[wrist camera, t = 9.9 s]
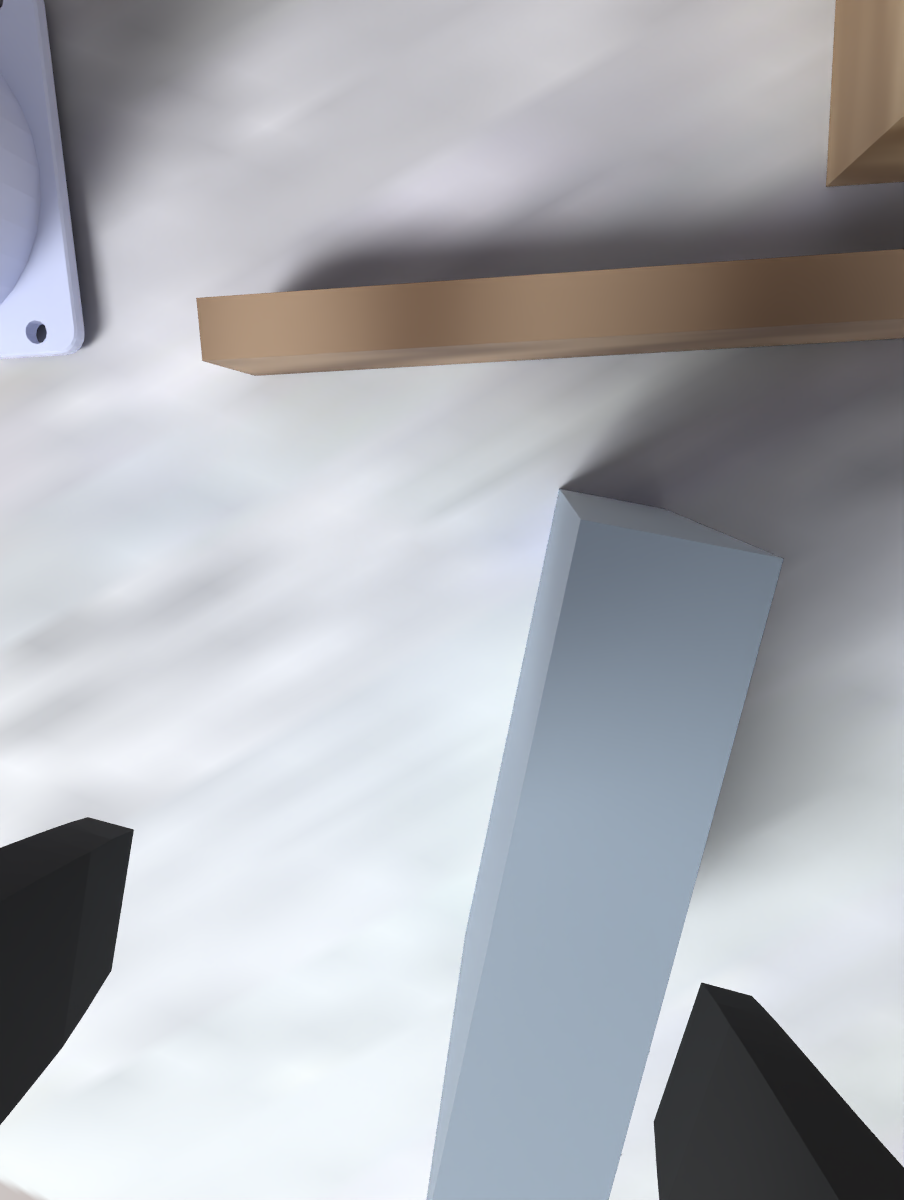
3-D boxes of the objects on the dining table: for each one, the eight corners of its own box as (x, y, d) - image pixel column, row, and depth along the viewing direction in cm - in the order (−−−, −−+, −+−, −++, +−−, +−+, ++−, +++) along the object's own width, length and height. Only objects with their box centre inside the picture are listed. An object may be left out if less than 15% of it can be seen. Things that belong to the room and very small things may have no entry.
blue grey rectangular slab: (465, 933, 21) (413, 1283, 12) (559, 488, 18) (580, 518, 10) (557, 954, 21) (574, 1326, 12) (664, 508, 18) (782, 558, 9)
